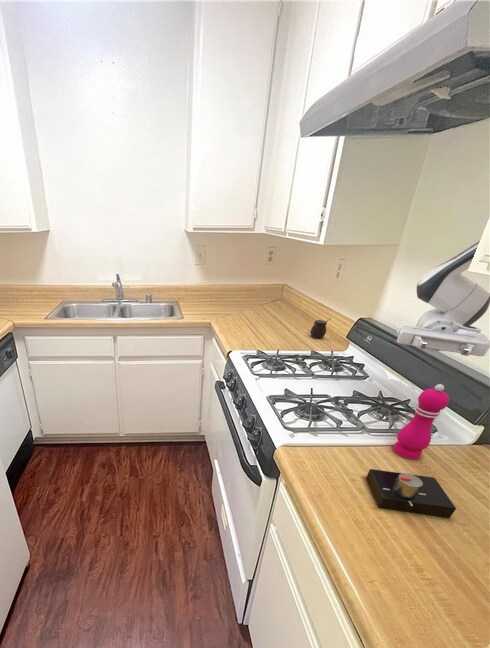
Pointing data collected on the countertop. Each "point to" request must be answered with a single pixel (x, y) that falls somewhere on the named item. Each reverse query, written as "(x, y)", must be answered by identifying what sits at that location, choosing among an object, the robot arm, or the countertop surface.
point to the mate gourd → (319, 329)
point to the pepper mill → (421, 423)
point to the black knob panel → (425, 502)
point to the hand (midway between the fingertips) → (444, 349)
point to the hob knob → (407, 485)
